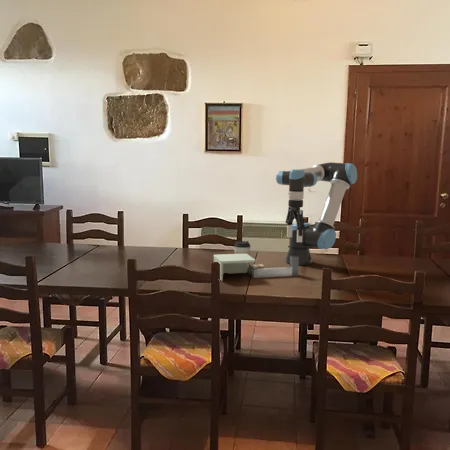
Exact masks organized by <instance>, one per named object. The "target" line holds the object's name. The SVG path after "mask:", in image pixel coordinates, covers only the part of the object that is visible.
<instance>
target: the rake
mask: <svg viewBox="0 0 450 450" xmlns="http://www.w3.org/2000/svg"><path fill="white" fill-rule="evenodd" d="M253 264H254V263H250V264H249V263H248V275H250V276H251V277H252V278H257V279H258V278H276V277H278V278H279V277H297V276H299V266H300V265H299V257H298V256H290V264H289V266H282V267H281V266H278V267H277V266H276V267H264V268H257V267H255V266H254V265H253Z"/></svg>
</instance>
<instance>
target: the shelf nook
mask: <svg viewBox="0 0 450 450" xmlns="http://www.w3.org/2000/svg"><path fill="white" fill-rule="evenodd" d="M214 262H218V263H219V264H220V280H221V281H220V280H219V281H220V282H223V281H224V280H223V279H224V278H223V277H224V275H225V274H224V273H228V274H246V273H248V269H247V263H248V264H249V263H250V264H251V263H256V259H255V258H254V257H252V256H251V254H250V255H248V254H235V253H227V254H224V253H223V254H213V263H214Z"/></svg>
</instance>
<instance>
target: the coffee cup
mask: <svg viewBox="0 0 450 450" xmlns="http://www.w3.org/2000/svg"><path fill="white" fill-rule="evenodd" d="M233 251H234V254H248V255H250V256H251V244H250V242H249V240H246V241H245V240H244V241H243V240H240V241H236V242H235V243H234V250H233ZM247 270H249V263H247Z"/></svg>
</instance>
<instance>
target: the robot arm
mask: <svg viewBox="0 0 450 450" xmlns="http://www.w3.org/2000/svg"><path fill="white" fill-rule="evenodd" d="M357 179H358V171H357V167H356V166H355V164H353V163H348V162H346V163H345V162H332V161H331V162H324V163H320V164H319V163H318V164H315V165H313V166H312V167H305V168H299V169H297V168H296V169H293V168H292V169H290V170H287V171H286V170H279V171H278V172H277V173H276V176H275V181H276V183H277V184H278V185H282V186H289V188H288V194H287V195H288V210H287V214H286V218H285V224H286V225H287V226H286V237H287V238H289V239H288V240H289V242H288V243H289V244H288V251H287V254H286V256H285V263H287V264H289V265H290V256H298V257H299V266H306V265H312V255H311V251H310V248H315V249H320V250H329V249H331V248H332V247H333V246H334V244H335V242H336V240H337V232H336V230H335V229H336V228H335V225H334V224H335V221H336V218H337V216H338V213H339V210H340V208H341V205H342V201H343V199H344V196H345V193H346V191H347V190H349V189H350V187H351V185H353V184H355V183H356V182H357ZM318 182H329V183H330V189H329V191H328V194H327V197H326V199H325V203H324V205H323V208H322V211H321V213H320V216H319V218H318V220H317V221H315V222H314V224H313V226H312V225H311V223H309V222H305V220H304V219H305V218H304V210H303V209H301V208H303V206H304V200H303V199H304V195H305V194H304V193H305V192H304V189H305V188H311V187H314V186H315V185H316V184H317V183H318ZM294 219H295V223H293V222H294Z"/></svg>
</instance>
